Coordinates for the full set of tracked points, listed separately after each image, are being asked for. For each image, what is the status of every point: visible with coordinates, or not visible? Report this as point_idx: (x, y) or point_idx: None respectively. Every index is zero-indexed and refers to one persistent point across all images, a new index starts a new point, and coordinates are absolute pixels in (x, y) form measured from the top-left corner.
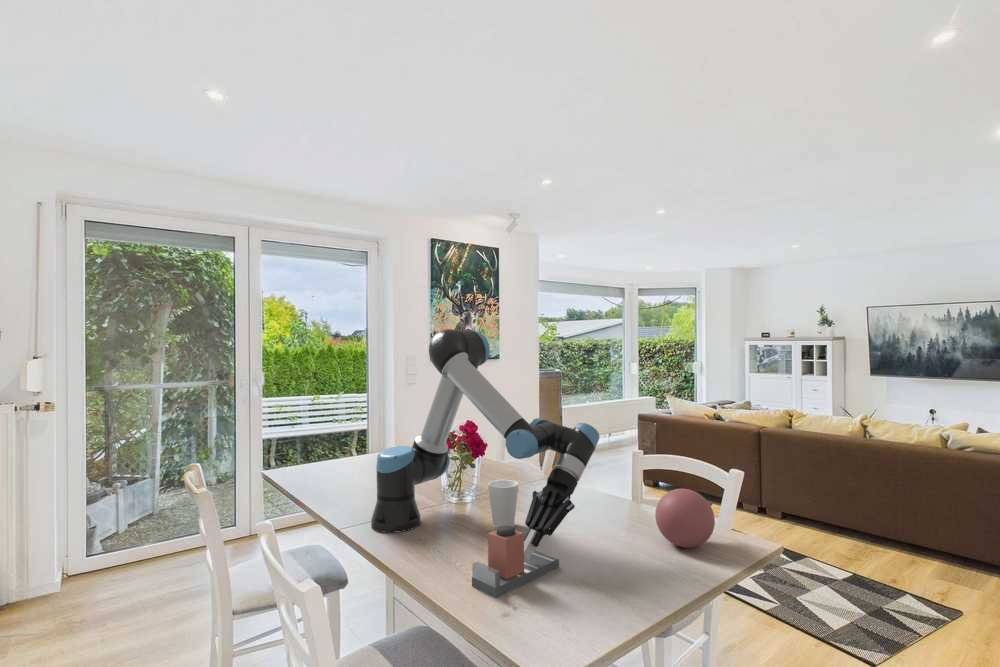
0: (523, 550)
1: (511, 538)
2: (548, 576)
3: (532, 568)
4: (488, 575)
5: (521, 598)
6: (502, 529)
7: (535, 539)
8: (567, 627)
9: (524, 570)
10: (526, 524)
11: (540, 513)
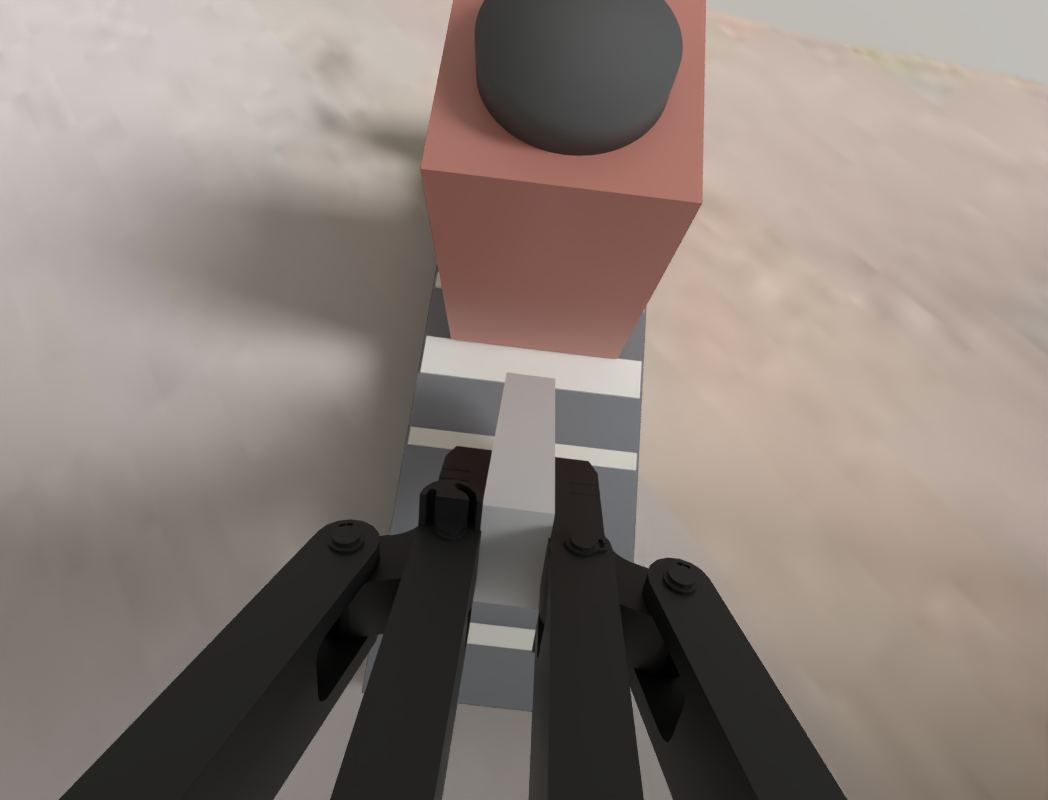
0: (440, 264)
1: (448, 25)
2: (363, 501)
3: (439, 418)
4: None
5: (354, 202)
6: (596, 10)
7: (460, 476)
8: (32, 116)
9: (462, 357)
10: (666, 558)
11: (548, 753)
